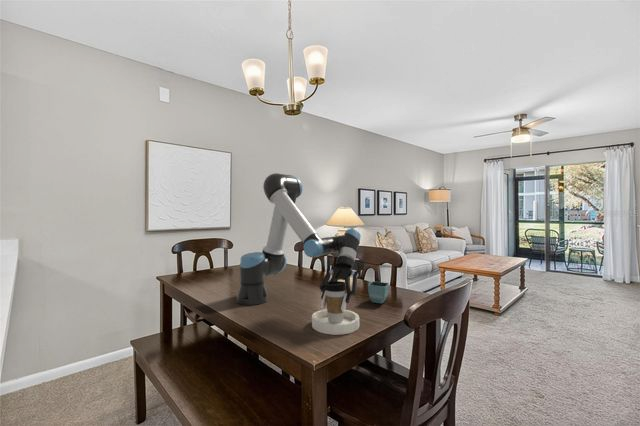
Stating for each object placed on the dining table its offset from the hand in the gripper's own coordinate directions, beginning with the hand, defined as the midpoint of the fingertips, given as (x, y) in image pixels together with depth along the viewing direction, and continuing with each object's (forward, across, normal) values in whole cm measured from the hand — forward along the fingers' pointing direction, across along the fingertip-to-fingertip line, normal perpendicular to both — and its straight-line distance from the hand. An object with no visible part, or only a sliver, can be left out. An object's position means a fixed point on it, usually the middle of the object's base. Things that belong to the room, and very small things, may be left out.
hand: (332, 308), depth 119 cm
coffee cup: (+2, 0, -7) cm, 7 cm away
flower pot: (-23, -9, -34) cm, 42 cm away
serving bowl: (+3, 0, -8) cm, 8 cm away
